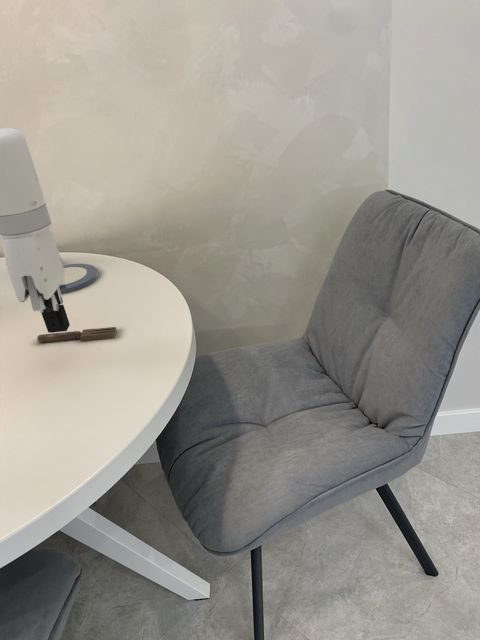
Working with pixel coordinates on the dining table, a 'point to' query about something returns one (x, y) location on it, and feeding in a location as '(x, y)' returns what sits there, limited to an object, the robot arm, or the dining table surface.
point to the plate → (77, 277)
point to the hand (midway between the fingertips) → (59, 329)
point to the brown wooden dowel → (80, 335)
